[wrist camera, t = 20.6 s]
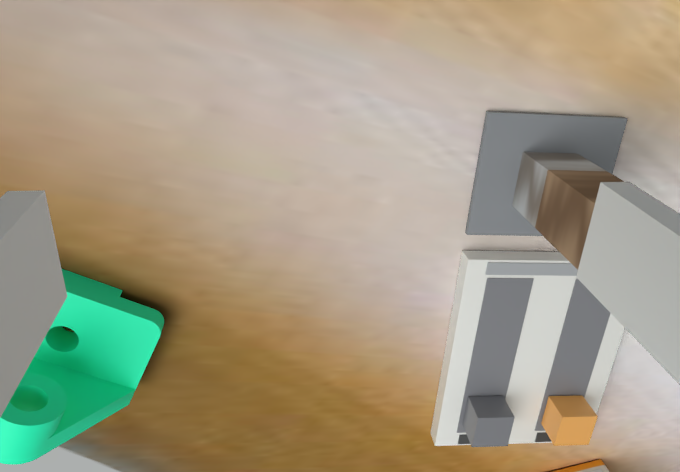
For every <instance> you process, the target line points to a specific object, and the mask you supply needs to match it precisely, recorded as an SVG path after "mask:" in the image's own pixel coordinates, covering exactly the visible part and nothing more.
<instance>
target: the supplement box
mask: <svg viewBox="0 0 680 472" xmlns="http://www.w3.org/2000/svg"><path fill="white" fill-rule="evenodd" d="M552 472H610V471H609V470H608V469H607V467H606V465H605V464H604V463H603V461H602V460H601V459H599V460H595V461H591V462H587V463H584V464H579V465H576V466H572V467H568V468H564V469H560V470H556V471H552Z"/></svg>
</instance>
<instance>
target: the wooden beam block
mask: <svg viewBox="0 0 680 472" xmlns="http://www.w3.org/2000/svg"><path fill="white" fill-rule="evenodd" d="M600 182H624V181H622V180H621V179H619V178H617V177H616V176H614V175H612V174H611V173H609V172H607V171H606V170H604V169H602V168H601V167H599V166H597V165H596V164H594V163H592V162H591V161H589V160H587V159H586V158H584V157H582V156H581V155H579V154H577V153H548V152H523V153H522V158H521V163H520V168H519V173H518V178H517V183H516V188H515V193H514V198H513V203H512V206H513V207H514V208H515V209H516V210H517V211H518V212H519V213H520V214H521V215H522V216H523V217H524V218H525V219H527V220H528V221H529V222H530V223H531V224H532V225H533V226H534V227H535V228H536V229H537V230H538V231H539V232H540V233H541V234H542V235H543V236H544V237H545V238H546V239H547V240H548V241H549V242H550V243H551V244H552V245H553V246H554V247H555V248H556V249H557V250H558V251H559V252H560V253H561V254H562V255H563V256H564V257H565V258H566V259H567V260H568V261H569V262H570V263H571V264H572V265H573V266H574V267H575V268H576V269H577V270H578V268H579V264H580V260H581V256H582V252H583V248H584V244H585V241H586V237H587V233H588V229H589V225H590V221H591V217H592V213H593V210H594V206H595V202H596V198H597V194H598V190H599V186H600Z"/></svg>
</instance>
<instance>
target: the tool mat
mask: <svg viewBox="0 0 680 472" xmlns="http://www.w3.org/2000/svg"><path fill="white" fill-rule="evenodd" d="M626 123H627V118H625V117H607V116H585V115H563V114H541V113H519V112H497V111H486V116H485V122H484V128H483V133H482V139H481V145H480V151H479V157H478V162H477V168H476V174H475V180H474V185H473V191H472V197H471V203H470V208H469V214H468V220H467V226H466V232H465V233H466V234H467V235H518V236H543V235H542V234H541V233H540V232H539V231H538V230H537V229H536V228H535V227H534V226H533V225H532V224H531V223H530V222H529V221H528V220H527V219H525V218H524V217H523V216H522V215H521V214H520V213H519V212H518V211H517V210H516V209H515V208H514V207H513V206H512V203H513V198H514V193H515V188H516V183H517V178H518V173H519V168H520V163H521V158H522V153H523V152H548V153H577V154H579V155H581V156H582V157H584V158H586V159H587V160H589V161H591V162H592V163H594V164H596V165H597V166H599V167H601V168H602V169H604V170H606V171H607V172H609V173H611V174H612V173H613V169H614V166H615V162H616V158H617V155H618V151H619V148H620V144H621V140H622V137H623V133H624V130H625V126H626Z"/></svg>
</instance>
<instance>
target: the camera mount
mask: <svg viewBox="0 0 680 472" xmlns="http://www.w3.org/2000/svg"><path fill="white" fill-rule="evenodd" d="M61 269H62V268H61ZM62 273H63V278H64V283H65V287H66V292H67V298H66V300H65V302H64V304H63V305H62V307H61V309H60V311H59V313H58V314H57V316H56V318H55V320H54V322H53V323H52V325H51V327H50V329H49V331H48V332H47V334H46V336H45V338H44V340H43V342H42V343H41V345H40V347H39V349H38V351H37V352H36V354H35V356H34V358H33V360H32V361H31V363H30V365H29V367H28V369H27V370H26V372H25V374H24V376H23V378H22V380H21V381H20V383H19V385H18V387H17V389H16V390H15V392H14V394H13V396H12V398H11V399H10V401H9V403H8V405H7V407H6V408H5V410H4V412H3V414H2V416H1V418H0V463H3V464H22V463H26V462H30V461H33V460H35V459H37V458H39V457H40V456H42V455H44V454H46V453H47V452H49V451H51V450H52V449H54V448H56V447H57V446H59V445H61V444H63V443H64V442H66V441H68V440H69V439H71V438H73V437H74V436H76V435H78V434H80V433H81V432H83V431H85V430H86V429H88V428H90V427H91V426H93V425H95V424H97V423H98V422H100V421H102V420H103V419H105V418H107V417H108V416H110V415H112V414H113V413H115V412H117V411H119V410H120V409H122V408H124V407H125V406H127V405H129V403H130V401H131V399H132V396H133V394H134V392H135V390H136V388H137V386H138V383H139V381H140V379H141V377H142V375H143V373H144V370H145V368H146V366H147V364H148V362H149V359H150V357H151V355H152V353H153V351H154V349H155V346H156V344H157V342H158V340H159V338H160V335H161V332H162V329H163V326H164V317H163V315H162V314H161V313H160V312H159V311H157V310H155V309H153V308H150V307H147V306H144V305H141V304H139V303H136V302H133V301H130V300H127V299H124V298H122V297H120V296H121V293H122V291H123V290H120V289H118V288H115V287H112V286H109V285H106V284H104V283H101V282H98V281H95V280H92V279H90V278H87V277H84V276H81V275H78V274H76V273H73V272H70V271H67V270H64V269H62ZM61 326H64V327H68V328H70V329H72V330H73V331H74V332H70V331H67V330H65V329H64V328H63V327H61Z"/></svg>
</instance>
